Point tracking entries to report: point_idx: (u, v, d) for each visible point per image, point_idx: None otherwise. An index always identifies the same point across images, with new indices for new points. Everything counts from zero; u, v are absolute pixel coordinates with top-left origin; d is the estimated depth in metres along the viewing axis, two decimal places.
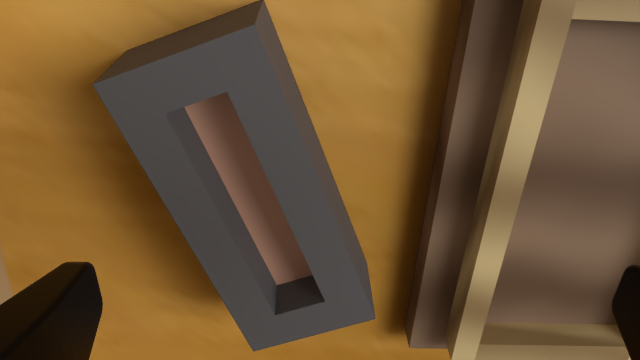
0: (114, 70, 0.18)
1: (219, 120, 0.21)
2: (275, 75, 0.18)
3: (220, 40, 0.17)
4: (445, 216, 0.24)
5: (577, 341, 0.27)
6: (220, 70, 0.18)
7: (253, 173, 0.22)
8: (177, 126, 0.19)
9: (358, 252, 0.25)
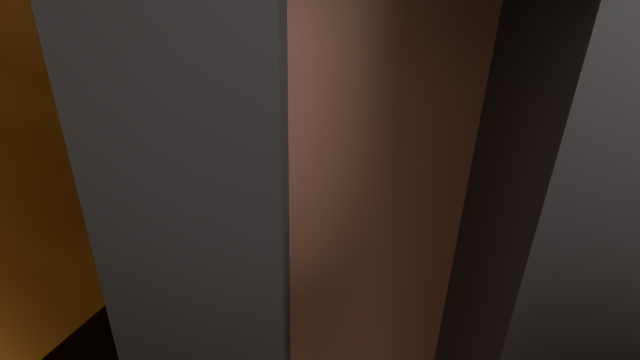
0: None
1: (375, 97, 0.06)
2: None
3: None
4: None
5: None
6: None
7: (381, 271, 0.08)
8: (282, 68, 0.05)
9: None
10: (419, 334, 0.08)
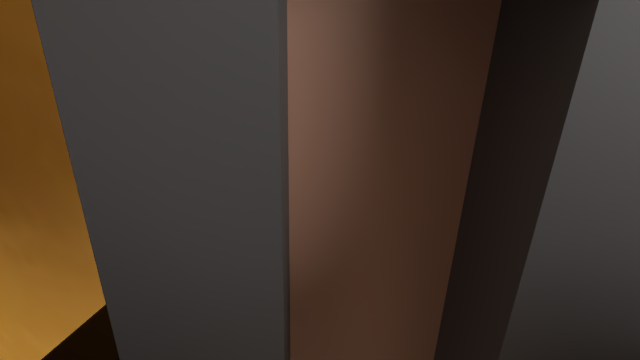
0: None
1: (374, 94, 0.06)
2: None
3: None
4: None
5: None
6: None
7: (381, 268, 0.08)
8: (281, 65, 0.05)
9: None
10: (419, 332, 0.08)
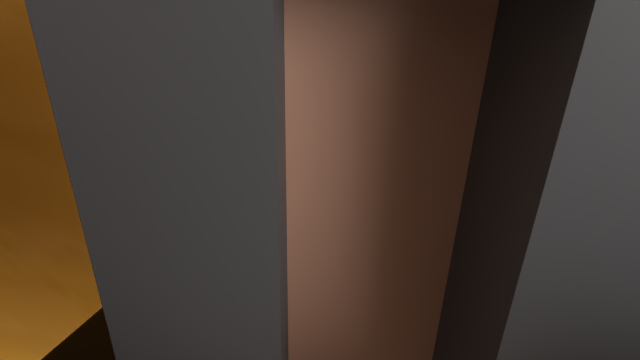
0: None
1: (372, 93, 0.06)
2: None
3: None
4: None
5: None
6: None
7: (379, 267, 0.08)
8: (277, 63, 0.05)
9: None
10: (417, 332, 0.08)
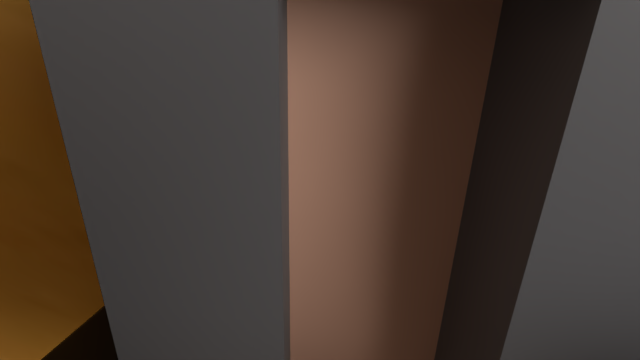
0: None
1: (376, 92, 0.06)
2: None
3: None
4: None
5: None
6: None
7: (381, 268, 0.08)
8: (280, 61, 0.05)
9: None
10: (420, 332, 0.08)
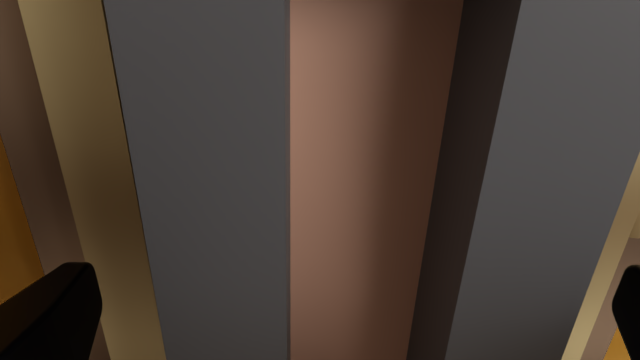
0: None
1: (363, 57, 0.08)
2: None
3: None
4: (59, 246, 0.12)
5: None
6: None
7: (369, 213, 0.09)
8: (285, 23, 0.06)
9: None
10: (403, 272, 0.10)
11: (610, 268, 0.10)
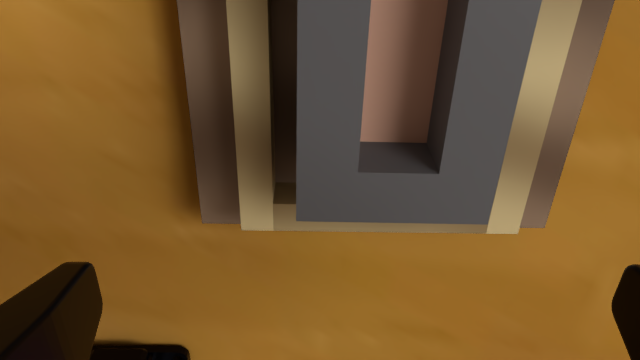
0: None
1: None
2: None
3: None
4: (193, 3, 0.17)
5: None
6: None
7: None
8: None
9: None
10: None
11: (578, 0, 0.15)
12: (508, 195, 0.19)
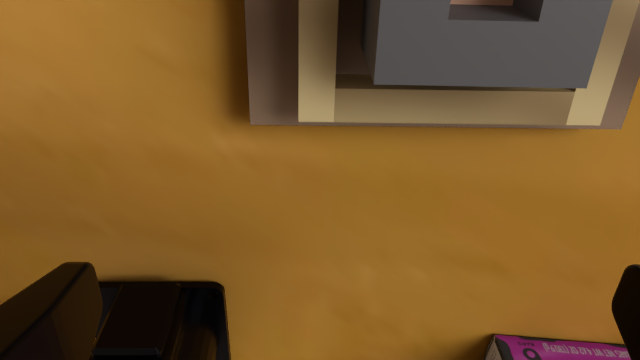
0: None
1: None
2: None
3: None
4: None
5: (488, 87, 0.17)
6: None
7: None
8: None
9: None
10: None
11: None
12: (593, 77, 0.17)
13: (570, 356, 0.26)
